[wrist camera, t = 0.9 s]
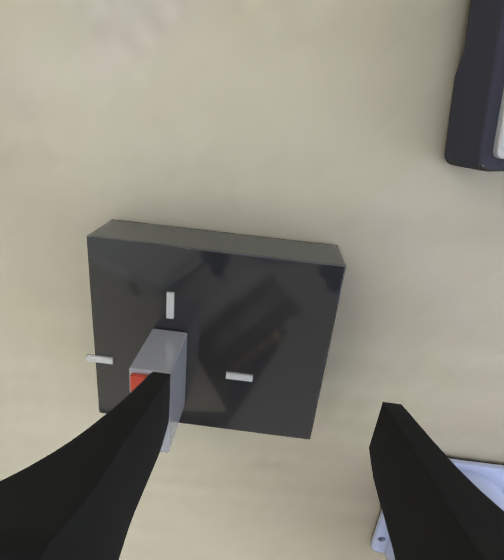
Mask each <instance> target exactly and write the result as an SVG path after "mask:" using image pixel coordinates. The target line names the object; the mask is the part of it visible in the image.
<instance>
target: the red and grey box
mask: <svg viewBox="0 0 504 560" xmlns="http://www.w3.org/2000/svg"><path fill="white" fill-rule="evenodd" d="M445 159H446V161H447V162H448V163H449V164H451V165H455V166H460V167H465V168H471V169H476V170H482V171H504V0H471V5H470V13H469V20H468V27H467V35H466V42H465V48H464V52H463V55H462V58H461V61H460V64H459V67H458V70H457V73H456V76H455V82H454V89H453V97H452V104H451V112H450V119H449V127H448V134H447V142H446V150H445Z"/></svg>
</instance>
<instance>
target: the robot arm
mask: <svg viewBox="0 0 504 560" xmlns="http://www.w3.org/2000/svg"><path fill="white" fill-rule="evenodd" d="M170 377H171V374H168V373H160V372H152V373H150V374H149V375H148V376H147V377H146V378H145V379H144V380H143V381H142V382H141V383H140V384H139V385H138V386H137V387H136V388H135V389H134V390H133V391H132V392H131V393H129V394H128V395H127V396H126V397H125V398H124V399H123V400H122V401H121V402H120V403H118V404H117V405H116V406H115V407H114V408H113V409H112V410H111V411H109V412H108V413H107V414H106V415H104V416H103V417H102V418H101V419H100V420H98V421H97V422H96V423H95V424H93V425H92V426H91V427H90V428H88V429H87V430H86V431H84V432H83V433H81V434H80V435H79V436H77V437H76V438H74V439H73V440H72V441H70V442H69V443H67V444H66V445H64V446H63V447H61V448H60V449H58V450H56V451H55V452H53V453H51V454H50V455H48V456H46V457H45V458H43V459H41V460H40V461H38V462H36V463H34V464H33V465H31V466H29V467H27V468H25V469H24V470H22V471H20V472H18V473H16V474H14V475H12V476H10V477H8V478H6V479H4V480H2V481H0V560H119V557H120V554H121V550H122V547H123V544H124V541H125V538H126V535H127V531H128V528H129V525H130V523H131V520H132V517H133V515H134V512H135V510H136V507H137V505H138V503H139V500H140V498H141V496H142V493H143V491H144V488H145V486H146V484H147V481H148V479H149V477H150V474H151V472H152V469H153V467H154V465H155V462H156V460H157V457H158V455H159V453H160V450H161V447H162V444H163V440H164V437H165V434H166V430H167V427H168V423H169V411H170ZM369 450H370V458H371V465H372V472H373V478H374V482H375V486H376V490H377V493H378V497H379V501H380V505H381V508H382V511H381V514H380V517H379V520H378V523H377V526H376V529H375V531H374V534H373V537H372V540H371V548H372V550H374V551H375V552H381V553H385V554H386V558H387V560H504V465H496V464H488V463H480V462H473V461H465V460H457V459H449V458H448V457H447V456H446V455H445V454H444V453H443V452H442V451H441V450H440V448H439V447H438V446H437V445H436V444H435V443H434V442H433V441H432V439H431V438H430V437H429V436H428V435H427V434H426V432H425V431H424V430H423V429H422V428H421V427H420V426H419V424H418V423H417V422H416V421H415V420H414V418H413V417H412V416H411V415H410V414H409V413H408V411H407V410H406V409H405V408H404V407H403V406H402V405H401V404H394V403H386V402H383V404H382V407H381V410H380V414H379V417H378V420H377V423H376V427H375V430H374V433H373V437H372V440H371V443H370V447H369Z"/></svg>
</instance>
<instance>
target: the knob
mask: <svg viewBox="0 0 504 560" xmlns="http://www.w3.org/2000/svg"><path fill="white" fill-rule="evenodd" d="M186 359H187V333H186V332H177V331H169V330H161V329H152V331H151V332H150V334H149V336H148V337H147V339H146V341H145V343H144V344H143V346H142V348H141V349H140V351H139V353H138V354H137V356H136V358H135V359H134V361H133V363H132V364H131V366H130V368H129V381H130V393H131V392H132V391H133V390H134V389H135V388H136V387H137V386H138V385H139V384H140V383H141V382H142V381H143V380H144V379H145V378H146V377H147V376H148V375H149V374H150V373H152V372H160V373H168V374H171V377H170V411H169V423H168V427H167V430H166V434H165V437H164V440H163V444H162V447H161V450H160V452H169V450H170V447H171V444H172V441H173V438H174V435H175V432H176V429H177V426H178V423H179V420H180V417H181V414H182V411H183V408H184V405H185V386H186Z"/></svg>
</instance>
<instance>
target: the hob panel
mask: <svg viewBox="0 0 504 560" xmlns="http://www.w3.org/2000/svg"><path fill="white" fill-rule="evenodd" d="M87 247H88V261H89V275H90V288H91V302H92V316H93V329H94V343H95V355H91V354H87V355H86V359H87V361H89V362H96V371H97V384H98V398H99V412H100V413H108V412H109V411H111V410H112V409H113V408H114V407H115V406H116V405H117V404H118V403H120V402H121V401H122V400H123V399H124V398H125V397H126V396H127V395H128V394H129V393H130V381H129V368H130V366H131V364H132V363H133V361H134V359H135V358H136V356H137V354H138V353H139V351H140V349H141V348H142V346H143V344H144V343H145V341H146V339H147V337H148V336H149V334H150V332H151V331H152V329H161V330H169V331H177V332H186V333H187V359H186V386H185V405H184V408H183V411H182V414H181V417H180V420H179V423H186V424H194V425H201V426H209V427H217V428H225V429H232V430H240V431H248V432H256V433H263V434H271V435H279V436H287V437H294V438H302V439H310V437H311V432H312V428H313V423H314V418H315V413H316V408H317V404H318V399H319V394H320V389H321V384H322V380H323V375H324V370H325V365H326V360H327V356H328V351H329V346H330V341H331V336H332V331H333V327H334V322H335V317H336V312H337V307H338V303H339V298H340V293H341V288H342V283H343V279H344V274H345V269H346V265H345V263H344V260H343V258H342V255H341V253H340V250H339V248H338V246H337V245H329V244H320V243H311V242H303V241H294V240H285V239H277V238H268V237H260V236H251V235H242V234H234V233H225V232H216V231H208V230H199V229H190V228H182V227H173V226H164V225H156V224H147V223H138V222H130V221H121V220H111V221H109V222H108V223H106V224H104V225H103V226H101V227H100V228H98V229H97V230H95V231H94V232H92V233H90V234H89V235H87Z"/></svg>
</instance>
